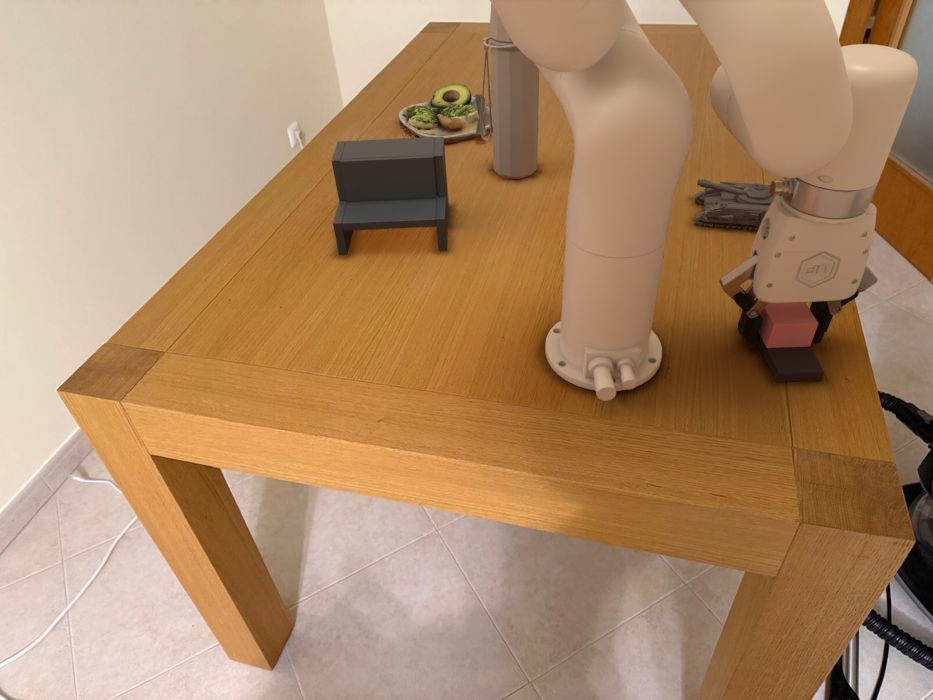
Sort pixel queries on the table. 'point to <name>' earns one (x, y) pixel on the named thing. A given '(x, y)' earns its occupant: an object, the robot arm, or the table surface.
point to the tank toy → (733, 204)
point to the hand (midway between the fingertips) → (779, 336)
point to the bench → (390, 187)
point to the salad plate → (447, 115)
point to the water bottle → (511, 104)
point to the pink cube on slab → (789, 342)
